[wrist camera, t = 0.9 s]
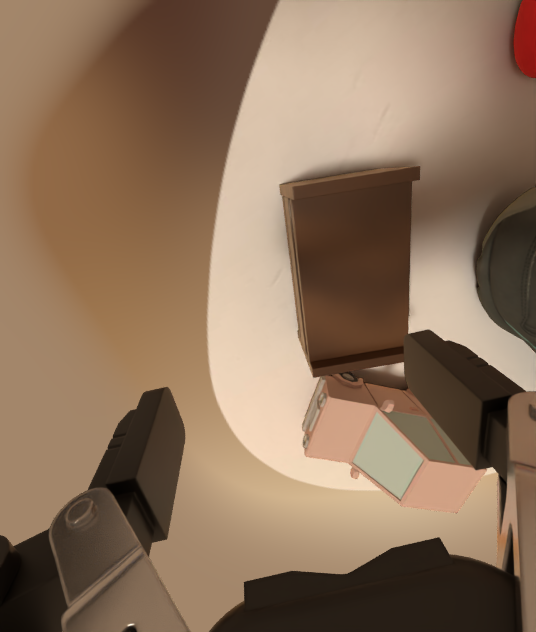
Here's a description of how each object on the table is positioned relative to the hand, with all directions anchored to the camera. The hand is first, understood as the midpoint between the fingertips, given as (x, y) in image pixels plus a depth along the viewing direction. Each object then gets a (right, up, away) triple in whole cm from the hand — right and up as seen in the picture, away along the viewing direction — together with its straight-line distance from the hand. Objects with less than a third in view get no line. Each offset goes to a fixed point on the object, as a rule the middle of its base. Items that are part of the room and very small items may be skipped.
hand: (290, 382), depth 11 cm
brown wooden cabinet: (+5, +7, +18) cm, 20 cm away
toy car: (+10, -8, +25) cm, 28 cm away
